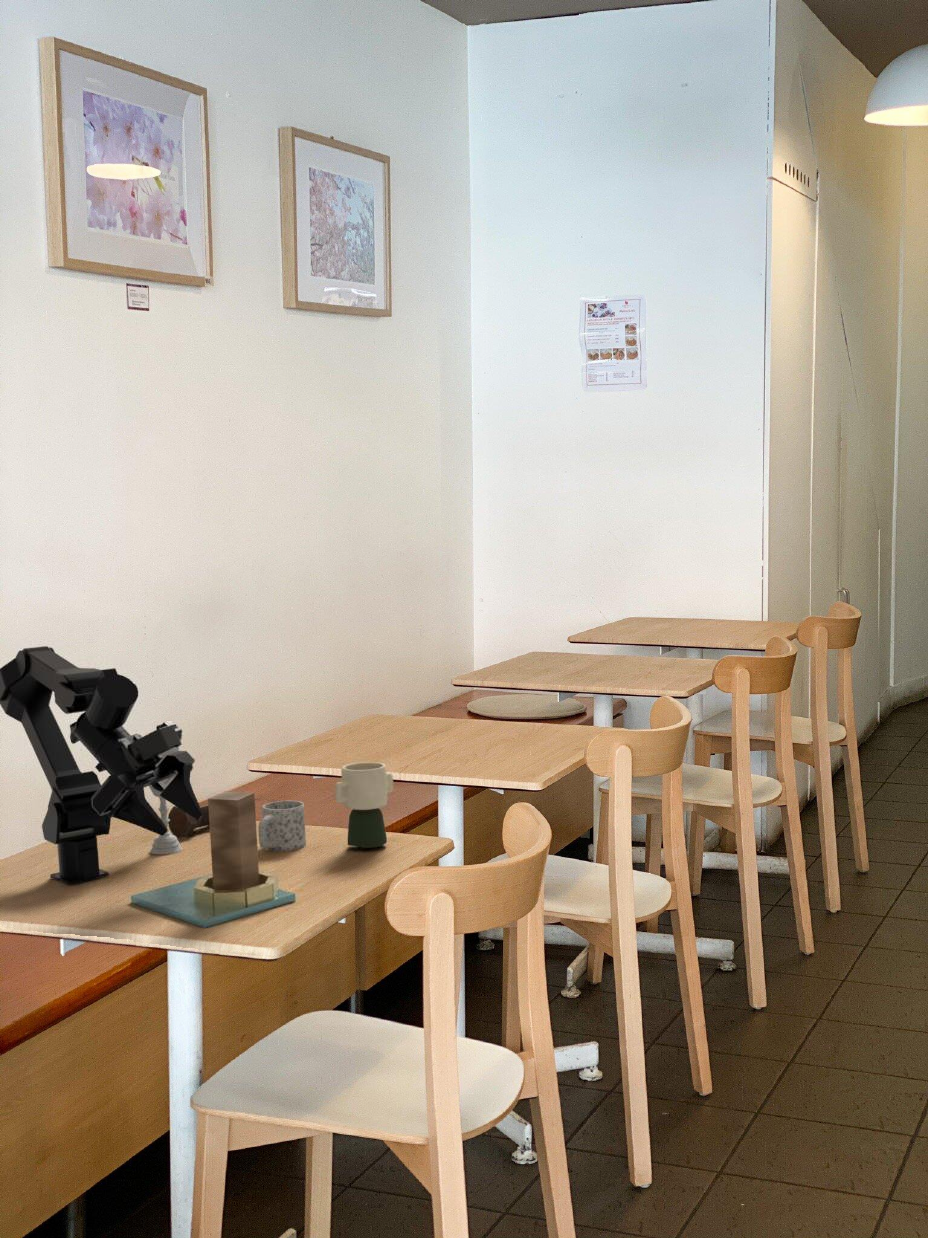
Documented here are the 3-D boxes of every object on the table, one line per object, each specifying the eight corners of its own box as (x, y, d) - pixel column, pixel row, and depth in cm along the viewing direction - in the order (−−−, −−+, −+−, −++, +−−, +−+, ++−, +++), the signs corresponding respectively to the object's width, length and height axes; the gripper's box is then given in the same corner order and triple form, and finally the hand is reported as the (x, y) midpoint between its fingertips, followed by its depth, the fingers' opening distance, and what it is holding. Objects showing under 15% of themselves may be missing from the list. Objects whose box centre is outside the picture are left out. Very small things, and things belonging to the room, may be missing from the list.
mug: (279, 839, 227) (277, 799, 226) (314, 842, 224) (311, 802, 223) (243, 855, 218) (241, 813, 217) (279, 858, 215) (277, 816, 214)
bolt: (247, 828, 243) (181, 845, 231) (229, 812, 245) (163, 827, 233) (257, 802, 241) (192, 817, 229) (239, 785, 243) (174, 799, 231)
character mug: (381, 837, 225) (378, 758, 224) (408, 844, 220) (404, 763, 219) (326, 850, 219) (321, 768, 217) (352, 858, 213) (347, 774, 212)
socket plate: (131, 902, 194) (129, 881, 194) (220, 878, 205) (219, 858, 204) (204, 928, 181) (202, 905, 181) (295, 900, 192) (294, 879, 192)
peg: (213, 899, 191) (207, 799, 190) (230, 889, 195) (225, 791, 194) (243, 901, 189) (237, 800, 188) (259, 891, 194) (254, 792, 192)
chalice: (197, 847, 223) (191, 737, 222) (167, 858, 218) (160, 744, 216) (164, 843, 227) (158, 734, 226) (134, 853, 222) (127, 741, 220)
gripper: (104, 717, 186) (180, 802, 183) (179, 695, 203) (250, 772, 200) (59, 773, 189) (133, 857, 186) (136, 747, 207) (205, 823, 204)
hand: (183, 825), depth 194 cm, fingers open, 9 cm apart
